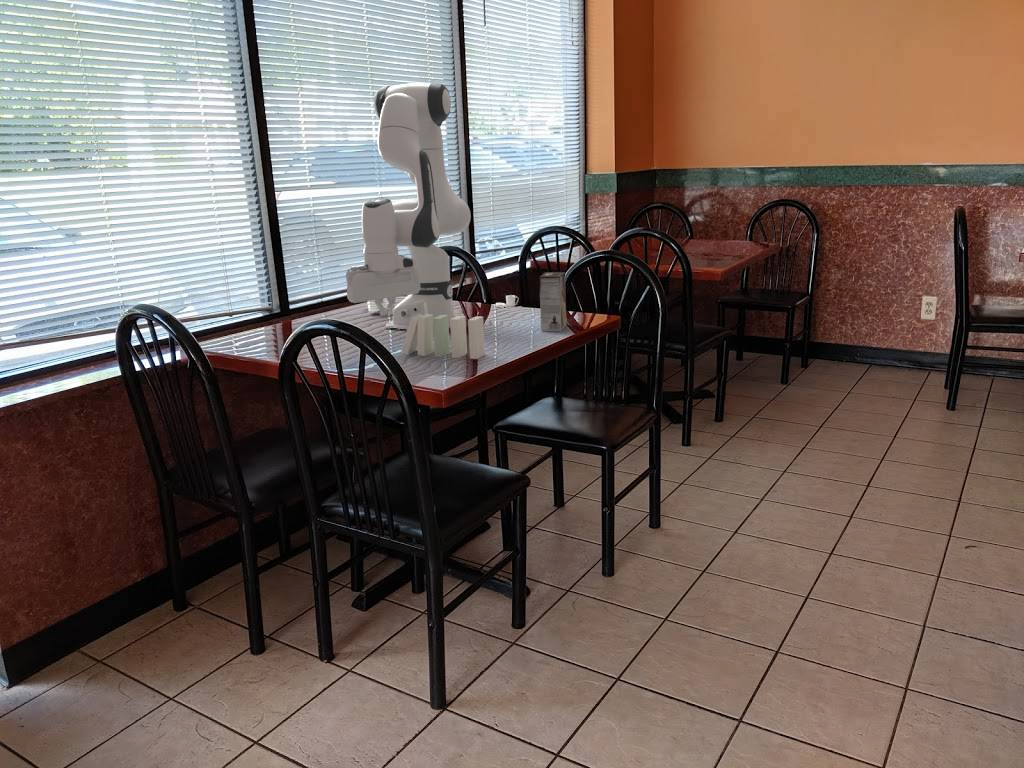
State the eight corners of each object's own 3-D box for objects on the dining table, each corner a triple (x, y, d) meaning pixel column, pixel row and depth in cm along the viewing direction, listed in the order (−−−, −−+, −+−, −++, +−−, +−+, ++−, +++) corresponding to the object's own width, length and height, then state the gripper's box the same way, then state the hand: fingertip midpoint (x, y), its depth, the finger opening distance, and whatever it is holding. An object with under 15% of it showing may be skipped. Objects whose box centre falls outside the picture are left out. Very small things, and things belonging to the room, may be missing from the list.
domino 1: (400, 351, 218) (410, 317, 214) (409, 347, 222) (419, 314, 219) (407, 355, 217) (417, 320, 214) (416, 350, 222) (426, 317, 218)
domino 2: (417, 355, 216) (417, 317, 213) (426, 350, 221) (426, 314, 218) (424, 356, 216) (424, 318, 213) (432, 351, 220) (433, 314, 217)
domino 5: (470, 358, 211) (468, 320, 208) (477, 354, 215) (476, 316, 213) (477, 359, 210) (475, 320, 208) (484, 354, 215) (483, 316, 212)
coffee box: (545, 325, 249) (544, 271, 245) (566, 325, 248) (565, 271, 243) (540, 331, 240) (539, 276, 236) (562, 331, 239) (561, 276, 235)
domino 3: (434, 356, 215) (432, 318, 212) (443, 352, 219) (441, 314, 216) (441, 356, 214) (439, 318, 211) (450, 352, 218) (448, 315, 216)
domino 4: (452, 357, 213) (450, 319, 210) (460, 353, 217) (458, 315, 215) (459, 358, 212) (457, 319, 209) (467, 353, 216) (465, 315, 214)
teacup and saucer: (493, 309, 280) (493, 297, 279) (501, 305, 287) (500, 293, 286) (518, 310, 277) (518, 298, 276) (525, 306, 284) (525, 294, 283)
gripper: (351, 268, 208) (356, 322, 211) (421, 259, 219) (425, 310, 223) (340, 266, 212) (345, 319, 216) (409, 257, 224) (413, 307, 228)
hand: (386, 314), depth 220 cm, fingers closed
